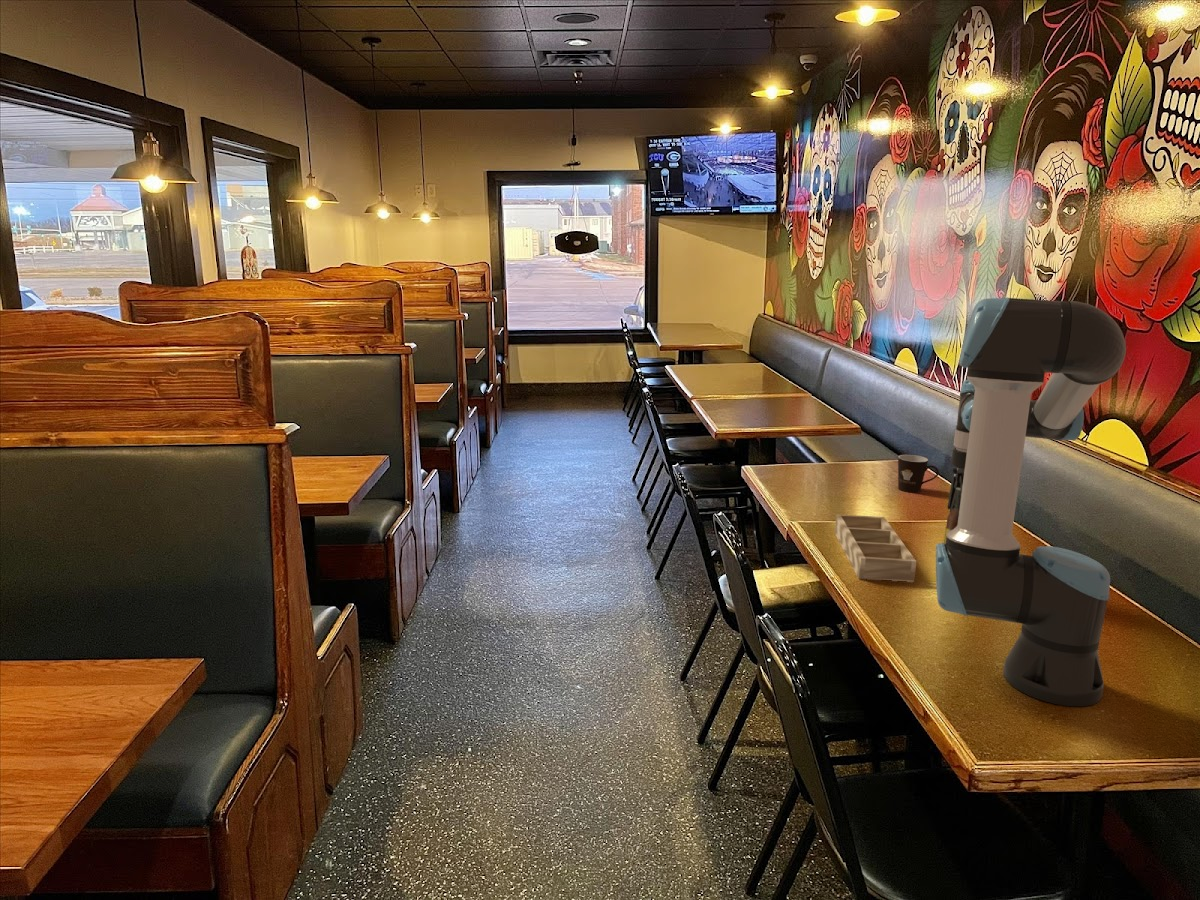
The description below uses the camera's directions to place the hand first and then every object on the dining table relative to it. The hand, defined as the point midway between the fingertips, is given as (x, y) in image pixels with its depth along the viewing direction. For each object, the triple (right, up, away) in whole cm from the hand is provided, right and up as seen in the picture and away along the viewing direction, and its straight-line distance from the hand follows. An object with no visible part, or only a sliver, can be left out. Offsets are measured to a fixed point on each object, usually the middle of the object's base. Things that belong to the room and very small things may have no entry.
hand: (957, 547), depth 191 cm
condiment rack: (-16, -3, +11) cm, 20 cm away
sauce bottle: (0, -6, +1) cm, 6 cm away
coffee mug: (+14, +10, +66) cm, 68 cm away
